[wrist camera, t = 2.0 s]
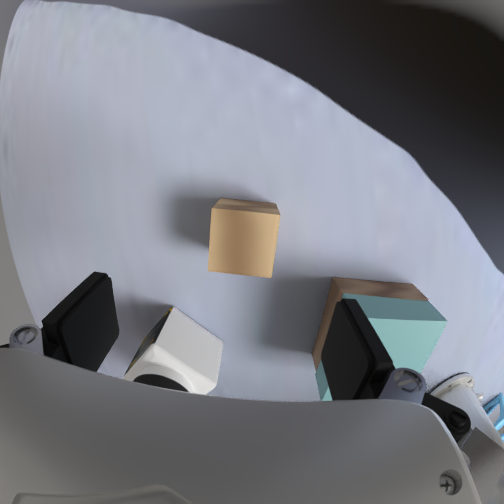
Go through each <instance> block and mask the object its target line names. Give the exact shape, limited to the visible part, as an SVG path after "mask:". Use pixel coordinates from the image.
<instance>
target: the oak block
mask: <svg viewBox="0 0 504 504" xmlns="http://www.w3.org/2000/svg"><path fill="white" fill-rule="evenodd" d="M279 221H280V213H279V210H278V208H277V205H276V204H273V203H264V202H255V201H246V200H236V199H225V198H220V199H219V200H218V201H217V203H216V204H215V205H214V206H213V207H212V211H211V226H210V242H209V260H208V271H212V272H221V273H230V274H239V275H249V276H258V277H268V278H272V272H273V265H274V258H275V250H276V243H277V236H278V228H279Z"/></svg>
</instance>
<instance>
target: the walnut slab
mask: <svg viewBox="0 0 504 504" xmlns="http://www.w3.org/2000/svg"><path fill="white" fill-rule="evenodd" d="M343 293H347V294H356V295H366V296H377V297H388V298H399V299H410V300H423V301H428V299H427V298H426V297H425V296H424V295H423V294H422V293H421V292H420V291H419V290H418V289H417V288H416V287H415V286H414V285H413V284H405V283H393V282H382V281H371V280H360V279H349V278H338V277H333V278H332V282H331V286H330V290H329V294H328V298H327V302H326V306H325V310H324V314H323V317H322V321H321V324H320V328H319V332H318V335H317V338H316V342H315V345H314V349H313V352H312V356H313V361H314V365H315V369H316V371H317V369H318V366H319V364H320V361H321V352H322V349H323V346H324V342H325V339H326V336H327V333H328V329H329V326H330V323H331V319H332V316H333V312H334V309H335V305H336V303H337V302H338V301H341V299H342V296H343Z"/></svg>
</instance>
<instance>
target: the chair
mask: <svg viewBox="0 0 504 504" xmlns="http://www.w3.org/2000/svg"><path fill="white" fill-rule="evenodd" d="M494 403H495V404H494ZM499 403H500V416H499V418H498V420H497V421H496V422H495V424H494V426H495V428H496V430H497V431H498V430H499V429H500V428H501V427H502V426H503V425H504V397H503V394H502V393H500V394H499V395H498V396H497V397H496V398H494V399H493V400H492V401H491V402H490V403H488V404H487V405H486V406H485V407H483V409H484V410H487V409H488V408H489V407H490V406H492V405H493V404H494V405H493V406H492V407H491V408H490V409H489V410H488V412H487V413H486V414H487V415H489V414H490V413H491V412H492V411H493V410H494V409H495V407H496V406H497V405H498V404H499ZM500 437H501V438H502V440H503V442H504V433H503V434H501V435H500Z"/></svg>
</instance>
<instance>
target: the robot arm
mask: <svg viewBox="0 0 504 504" xmlns="http://www.w3.org/2000/svg"><path fill="white" fill-rule="evenodd" d="M42 324H43V327H42V329H40V328H39V327H38V326H37V325H34V324H25V325H21V326H19V327H18V328H16V329H15V330H14V331H13V332H12V333H11V335H10V343H9V344H5V345H1V346H0V504H504V442H503V440H502V438H501V437H500V435H499V433H498V432H497V430H496V428H495V426H494V425H493V423H492V422H491V420H490V418H489V417H488V415H487V414H486V412H485V410H484V409H483V407H482V406H481V401H480V399H482V398H483V393H478V394H476V393H475V392H474V390H473V387H474V379H473V377H472V376H471V375H470V374H468V373H463V374H459V375H457V376H454V377H452V378H450V379H448V380H447V381H445V382H444V383H442V384H441V385H440V386H438V387H437V388H436V389H435V390H433V391H432V392H431V393H430V394H428V393H426V392H425V390H426V382H425V379H424V378H423V376H422V375H421V374H419V373H418V372H417V371H415V370H413V369H410V368H403V367H402V368H397V369H396V368H395V366H394V365H393V361H392V359H391V357H390V355H389V353H388V352H387V350H386V348H385V347H384V345H383V343H382V341H381V340H380V338H379V336H378V335H377V333H376V331H375V329H374V328H373V326H372V324H371V323H370V321H369V319H368V318H367V316H366V315H365V313H364V311H363V310H362V308H361V306H360V305H359V303H358V302H357V300H356V299H348V298H342V299H341V301H338V302H337V303H336V305H335V309H334V312H333V316H332V319H331V323H330V326H329V329H328V333H327V336H326V339H325V342H324V346H323V349H322V352H321V361H322V365H323V368H324V372H325V375H326V379H327V382H328V386H329V390H330V393H331V397H332V401H274V400H255V399H242V398H231V397H221V396H212V395H204V394H197V393H190V392H184V391H178V390H172V389H166V388H161V387H156V386H151V385H146V384H141V383H137V382H132V381H128V380H124V379H120V378H116V377H112V376H108V375H104V374H101V373H97V370H98V369H99V367H100V365H101V364H102V362H103V360H104V359H105V357H106V355H107V354H108V352H109V350H110V349H111V347H112V346H113V344H114V342H115V341H116V339H117V338H118V335H119V327H118V321H117V315H116V309H115V303H114V296H113V288H112V281H111V278H110V277H108V275H107V274H106V273H100V272H93V273H92V274H91V275H90V276H89V277H87V278H86V279H85V280H84V281H83V282H82V283H81V284H80V285H79V286H77V287H76V288H75V289H74V290H73V291H72V292H71V293H70V294H69V295H68V296H67V297H66V298H65V299H64V300H62V301H61V302H60V303H59V304H58V305H57V306H56V307H55V308H54V309H53V310H52V311H51V312H50V313H49V314H48V315H47V316H46V317H45V318H44V319H43V320H42Z"/></svg>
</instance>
